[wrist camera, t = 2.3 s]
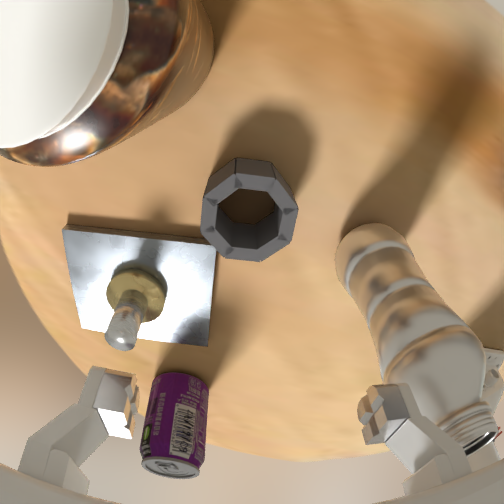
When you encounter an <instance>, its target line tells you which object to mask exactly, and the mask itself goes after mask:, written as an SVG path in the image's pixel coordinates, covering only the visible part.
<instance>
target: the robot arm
mask: <svg viewBox="0 0 504 504" xmlns="http://www.w3.org/2000/svg"><path fill="white" fill-rule="evenodd" d="M483 349H484V352H485V356H486V372H485V380H484V386H483V391H482V396H481V399H482V402H483V401H486V402H488V403H489V404H490V407H491V409H492V412H491V413H492V415H494V413H495V410H496V408H497V405H498V403H499V401H500V398H501V396H502V394H503V391H504V382H503V379H502V377H501V375H500V373H499V371H498V370H499V368H500V367H501V365H502V363H503V360H504V352H503V351H501V350H495V349H488V348H483ZM136 382H137V378H136V374H132V373H127V372H122V371H116V370H111V369H107V368H102V367H97V366H92V368H91V369H90V371H89V373H88V376H87V379H86V382H85V385H84V387H83V390H82V393H81V396H80V399H79V402H78V404H72V405H71V406H70V407H69V408H67V409H66V410H65V411H64V412H62V413H61V414H60V415H58V416H57V417H56V418H54V419H53V420H52V421H50V422H49V423H48V424H46V425H45V426H44V427H42V428H41V429H40V430H39V431H37V432H36V433H35V434H33V435H32V436H31V437H29V438H28V440H27V443H26V446H25V449H24V452H23V455H22V458H21V461H20V465H19V468H18V471H17V470H15V469H12V468H10V467H8V466H6V465H4V464H1V463H0V504H120V503H116V502H111V501H107V500H103V499H99V498H95V497H92V496H88V495H87V492H88V486H89V479H88V478H87V477H86V476H85V474H84V473H83V472H82V471H81V470H80V469H79V466H80V465H81V464H82V463H83V462H84V461H85V460H86V459H87V458H88V457H89V456H90V455H91V454H92V453H93V452H94V451H95V450H96V449H97V448H98V447H99V446H100V445H101V444H102V443H103V442H104V441H105V440H106V439H107V438H108V437H109V435H112V436H117V437H123V438H129V439H132V437H133V432H134V426H135V420H134V417H133V416H134V415H135V414H136V413H137V412H138V407H139V388H138V387H137V386H136ZM357 412H358V418H359V421H360V422H361V423H362V424H363V425H364V427H363V429H362V433H363V436H364V440H365V444H366V445H369V444H378V443H385V445H386V446H387V447H388V448H389V449H390V450H391V451H392V452H393V453H394V455H396V457H397V458H398V459H399V460H400V461H401V462H402V463H403V465H404V466H405V467H406V468H407V469H408V470H409V471H410V472H411V473H412V475H411V476H410V477H408V478H407V479H405V480H404V482H403V488H404V492H405V496H403V497H399V498H395V499H392V500H387V501H383V502H379V503H374V504H504V459H502V460H501V459H500V456H499V454H498V451H497V449H496V447H495V444H494V440H495V438H497V437H498V436H499V435H500V434H501V433H502V431H501V432H500V433H498V434H497V436H496V437H495V438H494V439H493V440H492V441H491V442H490V443H488V444H487V445H486V446H484V447H483V448H482V449H480V450H479V451H477V452H476V453H474V454H472V455H470V456H469V457H466V454H465V451H464V449H463V447H462V446H461V445H460V444H458V443H457V442H456V441H455V440H454V439H452V438H451V437H450V436H449V435H447V434H446V433H445V432H444V431H443V430H441V429H440V428H439V427H438V426H437V425H435V424H434V423H433V422H432V421H430V420H429V419H428V418H427V417H426V416H422V415H421V413H420V410H419V408H418V405H417V403H416V401H415V398H414V396H413V393H412V391H411V389H410V386H409V385H408V384H407V383H397V384H394V383H393V384H383V385H372V386H370V387H369V388H368V390H367V395H366V396H364V397H363V398H361V400H360V402H359V404H358V409H357ZM499 429H500V427H498V430H499Z"/></svg>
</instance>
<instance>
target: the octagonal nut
mask: <svg viewBox="0 0 504 504" xmlns="http://www.w3.org/2000/svg"><path fill="white" fill-rule="evenodd" d="M239 188H242V189H250V190H258V191H266V192H268V193H269V195H270V196H271V197H272V198H273V200H274V201H275V205H274V211H273V213H272V214H270V215H269V216H267V217H266V218H264V219H263V220H261V221H260V222H258V223H257V224H255V225H253V224H244V223H235V222H232V221H231V220H230V218H229V217H228V216H227V215H226V214H225V213H224V212H223V210H222V209H221V208H220V207H219V203H220V202H221V201H222V200H224V199H225V198H227V197H228V196H229V195H231V194H232V193H233V192H235V191H236V190H238V189H239ZM297 214H298V206H297V204H296V201H295V199H294V196H293V194H292V191H291V189H290V187H289V185H288V184H287V183H286V181H285V180H284V179H283V177H282V176H281V175H280V173H279V172H278V171H277V169H276V168H275V167H274V166H273V164H272V163H270V162H267V161H260V160H252V159H244V158H237V160H236V159H233V160H232V161H231V162H229V163H228V164H226V165H225V166H224V167H222V168H221V169H220V170H219V171H217V172H216V173H215V174H213V175H212V176H211V177H209V179H208V182H207V186H206V189H205V192H204V196H203V202H202V214H201V226H200V231H201V234H202V235H203V236H204V237H205V238H206V239H207V240H208V241H209V243H210V244H211V245H212V246H213V247H214V248H215V249H216V250H217V251H218V252H219V253H220V254H221V255H222V256H223V257H225V258H227V259H236V260H246V261H255V262H260V260H261V262H262V261H263V260H265V259H266V258H268V257H269V256H271V255H272V254H274V253H276V252H277V251H279V250H280V249H282V248H283V247H285V246H286V245H288V244H290V242H291V240H292V236H293V231H294V227H295V223H296V218H297Z"/></svg>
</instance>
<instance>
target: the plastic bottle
mask: <svg viewBox="0 0 504 504" xmlns="http://www.w3.org/2000/svg"><path fill="white" fill-rule="evenodd" d="M335 266H336V272H337V276H338V279H339V281H340V282H341V284H342V285H343V287H344V288H345V290H346V291H347V292H348V294H349V295H350V296H351V297H352V298H353V299H354V301H355V303H356V304H357V306H358V308H359V309H360V311H361V313H362V315H363V316H364V318H365V320H366V322H367V325H368V328H369V330H370V333H371V336H372V339H373V342H374V345H375V348H376V352H377V357H378V362H379V366H380V372H381V377H382V381H383V384H393V383H394V384H397V383H407V384H408V385H409V386H410V389H411V391H412V393H413V396H414V398H415V401H416V403H417V405H418V408H419V410H420V413H421V415H422V416H426V417H427V418H428V419H429V420H430V421H432V422H433V423H434V424H435V425H437V426H438V427H439V428H440V429H441V430H443V431H444V432H445V433H446V434H447V435H449V436H450V437H451V438H452V439H454V440H455V441H456V442H457V443H458V444H460V445H461V446H462V447H463V449H464V451H465V454H466V457H469V456H470V455H472V454H474V453H476V452H477V451H479V450H480V449H482V448H483V447H484V446H486V445H487V444H488V443H490V442H491V441H492V440H493V439H494V438H495V437H496V436H497V434H498V432H499V430H498V426H497V424H496V422H495V420H494V418H493V415H492V413H491V412H492V409H491V407H490V404H489V403H488V402H486V401H483V402H482V399H481V396H482V391H483V386H484V380H485V372H486V356H485V352H484V349H483V345H482V342H481V341H480V340H479V338H478V337H477V336H476V335H475V333H474V332H473V331H472V330H471V329H470V328H469V327H468V326H467V324H466V323H465V322H464V321H463V320H462V319H461V318H460V317H459V316H458V315H457V314H456V313H455V312H454V311H453V310H452V309H451V308H450V307H449V306H448V305H447V304H446V303H445V302H444V301H443V299H442V298H441V297H440V296H439V294H438V293H437V292H436V291H435V289H434V288H433V287H432V286H431V285H430V283H429V282H428V280H427V279H426V277H425V275H424V274H423V272H422V270H421V269H420V267H419V265H418V264H417V262H416V260H415V257H414V255H413V253H412V250H411V248H410V247H409V245H408V243H407V241H406V239H405V238H404V237H403V236H402V235H401V234H400V233H398V232H397V231H395V230H394V229H392V228H391V227H389V226H387V225H385V224H380V223H369V224H365V225H361V226H359V227H357V228H355V229H353V230H352V231H350V232H349V233H348V234H347V235H346V236H345V237H344V238H343V239H342V241H341V242H340V244H339V245H338V247H337V250H336V253H335Z"/></svg>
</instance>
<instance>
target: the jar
mask: <svg viewBox="0 0 504 504" xmlns="http://www.w3.org/2000/svg"><path fill="white" fill-rule="evenodd" d="M213 55H214V34H213V29H212V25H211V22H210V20H209V17H208V15H207V13H206V11H205V9H204V7H203V5H202V3H201V2H200V0H0V155H1V156H3V157H5V158H7V159H10V160H12V161H15V162H18V163H22V164H26V165H32V166H40V167H53V166H61V165H66V164H71V163H74V162H78V161H81V160H84V159H87V158H90V157H92V156H95V155H97V154H99V153H101V152H103V151H105V150H108V149H110V148H112V147H114V146H115V145H117V144H119V143H121V142H123V141H125V140H126V139H128V138H130V137H132V136H134V135H135V134H137V133H139V132H140V131H142V130H144V129H146V128H147V127H149V126H151V125H152V124H154V123H156V122H158V121H159V120H161V119H163V118H164V117H166V116H168V115H170V114H171V113H173V112H174V111H176V110H177V109H179V108H180V107H182V106H183V105H184V104H185V103H187V102H188V101H189V100H190V99H191V98H192V97H193V96H194V95H195V94H196V92H197V91H198V90H199V88H200V87H201V86H202V84H203V82H204V81H205V79H206V77H207V75H208V72H209V70H210V67H211V64H212V60H213Z"/></svg>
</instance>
